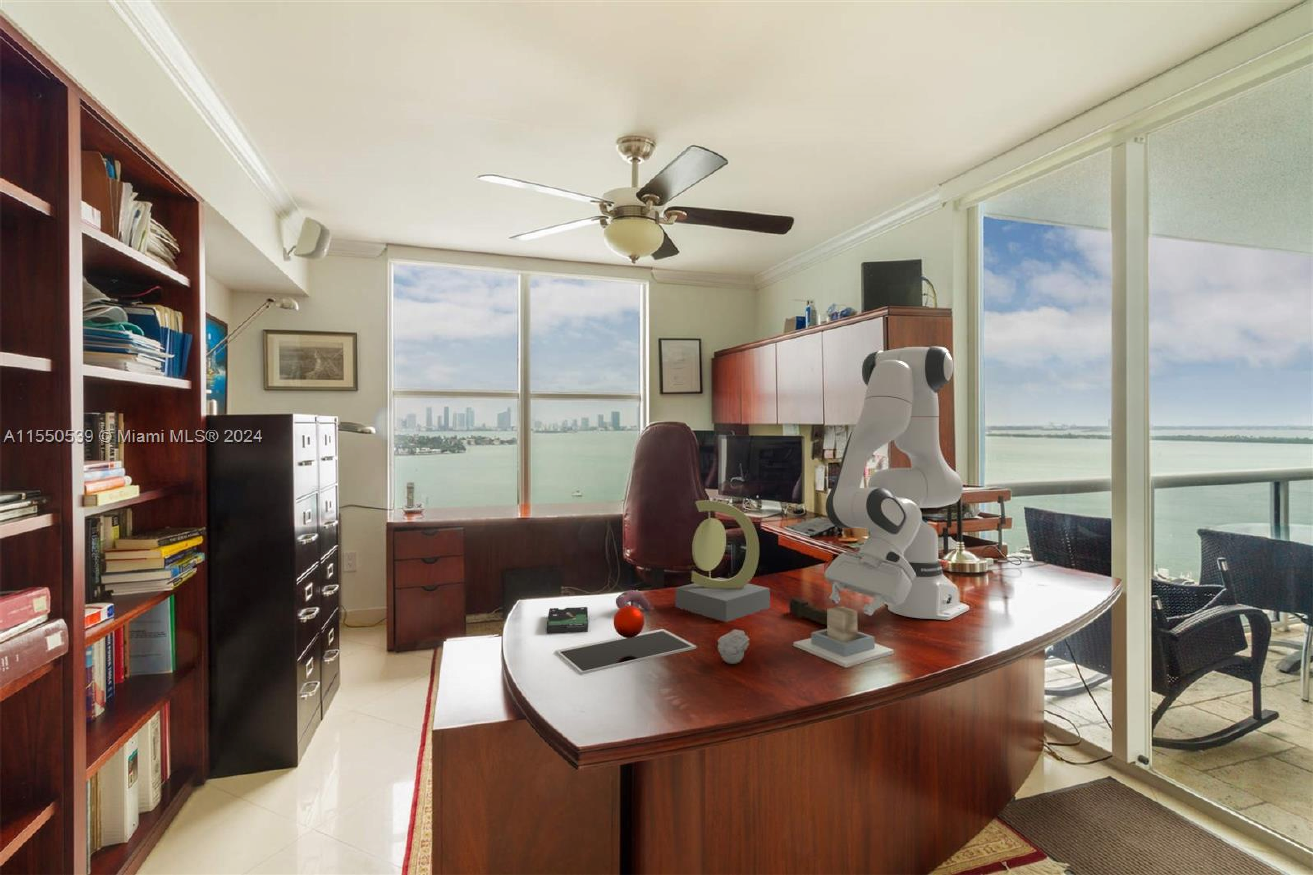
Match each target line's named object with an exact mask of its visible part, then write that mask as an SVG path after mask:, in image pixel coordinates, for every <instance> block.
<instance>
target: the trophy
mask: <svg viewBox="0 0 1313 875" xmlns="http://www.w3.org/2000/svg"><path fill="white" fill-rule="evenodd" d="M695 506H696V508H697V511H698V512H699V513H702V512H708V518H707V519H704V520H703V521H702V522H700V524H699V526H698V527H697V528H696V530H695V533H694V535H693V540H692V544H691V547H692V548H691V550H692V551H691V552H692V553H691V555H692V559H693V562H694V563H695V566H696V567H697V568H698V569H700V571H707V572H708V576H705V575H703V574H700V573H698V572H696V571H694V570H692V572H691V580H690V581H691V582H692V583H690V584H686V585H682V586H678V587H675V594H674V595H675V597H674V598H675V602H674V603H675V605H674V606H675V608H676V607H678V608H677V609H679V608H680V610H683V609H685V610H684V611H686V610H688V611H687V612H689V611H691V612H690V613H693V614H697V615H700V614H701V615H700V616H704V617H707V618H711V619H713V618H714V619H713V620H717V621H721V622H723V623H724V622H725V623H728V622H731V621H734V619H735V620H737V618H738V619H741V618H743V617H746V615H747V616H749V615H748V614H750V615H753V614H756V613H758V611H759V612H761V611H760V610H762V611H764V610H763V609H765V610H768V609H771V588H769V587H767V586H766V587H765V586H761V585H757V584H751V583H750V582H751V580H752V579H753V577H754V575H755V573H756V570H757V569H758V564H759V560H760V559H759V558H760V542H759V536H758V533H757V530H756V528H755V525H754V523H753V522H752V520H751V519H750V518H749V517H748V516H747V514H745V513H744V512H743V511H741V510H740V509H739V508H737V507H735V506H733V505H731V504H728V503H725V502H722V501H717V500H706V499H705V500H697V501H695ZM711 512H718V513H723V514H724V515H725V514H726V515H727V516H729V517H731V518H733V520H735V521H736V522H737V524H738V525H739V526H740V528H741V530H742V531H743V534H744V537H745V543H746V544H745V545H746V548H745V557H744V558H745V559H744V561H743V565H742V567H741V569H740V570H739V571H738V573H737V574H736V575H734V576H733V577H731V578H724V577H715V578H712V577H711V575H712V574H711V572H712V570H714V569H715V568H717V566H719V564H720V563H721V561H722V560H723V556H724V555H725V552H726V546H727V534H726V529H725V526H724V524H723V523H722V521H720V520H719V519H718V518H714V517H711ZM755 612H756V613H755Z"/></svg>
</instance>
